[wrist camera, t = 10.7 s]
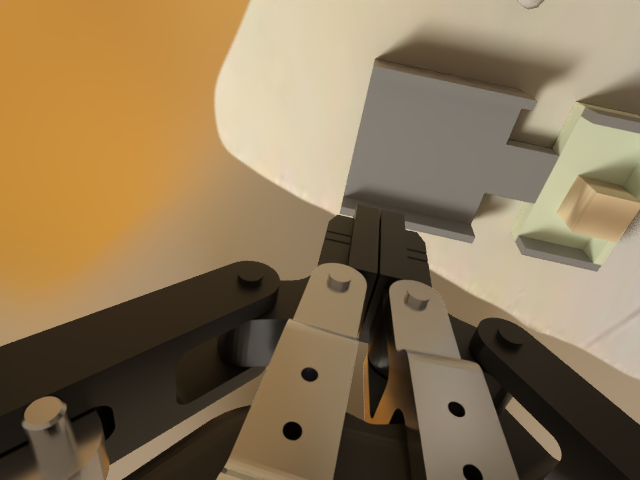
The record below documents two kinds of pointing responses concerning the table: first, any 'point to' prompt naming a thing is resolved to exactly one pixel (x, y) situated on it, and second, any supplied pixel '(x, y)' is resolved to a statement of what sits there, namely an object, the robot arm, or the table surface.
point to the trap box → (483, 160)
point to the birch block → (598, 208)
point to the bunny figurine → (530, 3)
